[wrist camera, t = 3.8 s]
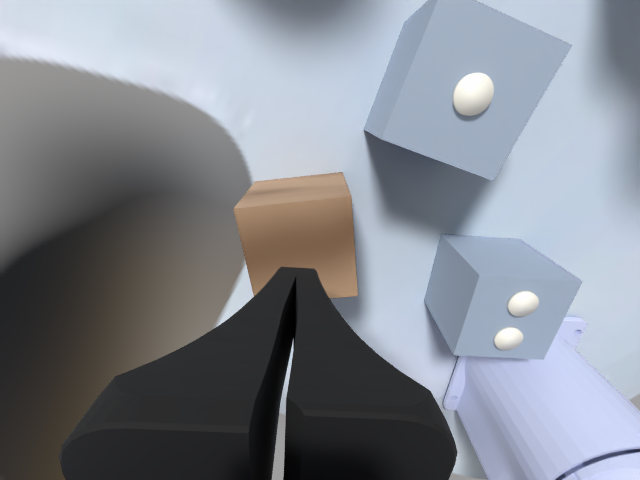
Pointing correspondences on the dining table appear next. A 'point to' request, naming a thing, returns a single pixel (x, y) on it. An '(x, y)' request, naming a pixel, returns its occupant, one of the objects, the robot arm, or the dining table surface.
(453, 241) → the dotted block
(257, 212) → the walnut block
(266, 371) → the robot arm
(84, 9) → the dining table surface
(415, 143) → the dotted block
